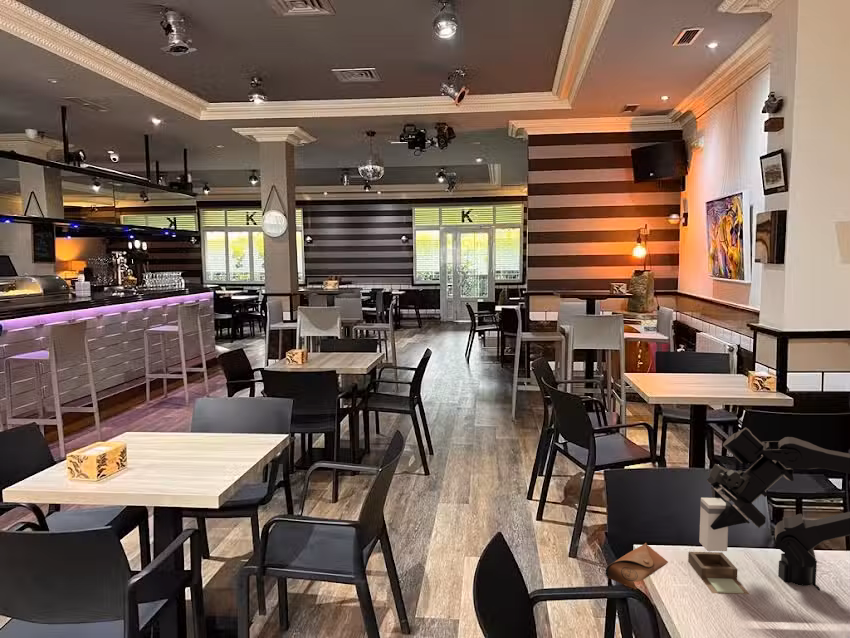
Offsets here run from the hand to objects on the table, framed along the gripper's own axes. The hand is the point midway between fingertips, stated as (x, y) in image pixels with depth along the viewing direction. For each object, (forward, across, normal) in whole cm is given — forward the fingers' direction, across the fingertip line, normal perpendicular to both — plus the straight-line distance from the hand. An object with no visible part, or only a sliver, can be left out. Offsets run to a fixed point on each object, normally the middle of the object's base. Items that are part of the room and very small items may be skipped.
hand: (707, 523), depth 138 cm
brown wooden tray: (+8, +3, +10) cm, 13 cm away
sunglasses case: (+20, -1, -1) cm, 20 cm away
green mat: (+8, +7, +10) cm, 14 cm away
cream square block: (+3, 0, +5) cm, 6 cm away
